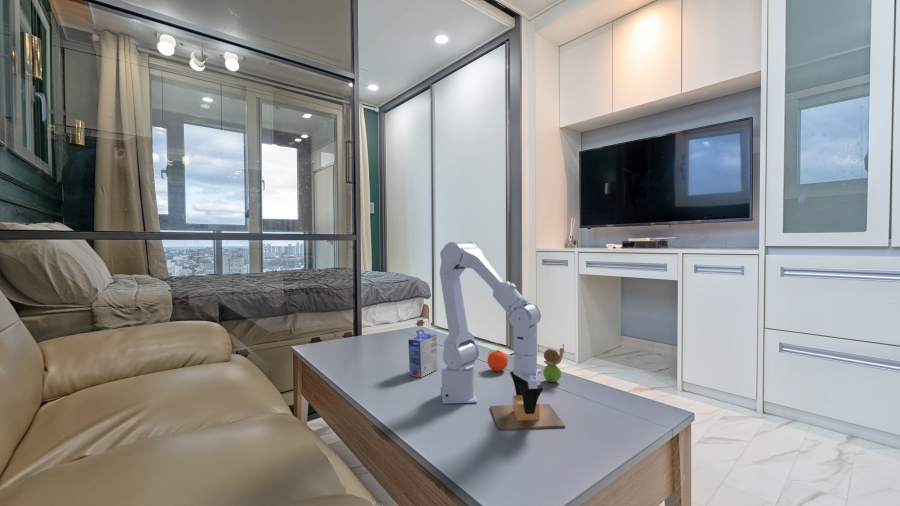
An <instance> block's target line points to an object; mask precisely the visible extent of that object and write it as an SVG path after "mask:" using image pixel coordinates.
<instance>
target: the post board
mask: <svg viewBox="0 0 900 506" xmlns="http://www.w3.org/2000/svg"><path fill="white" fill-rule="evenodd" d="M539 404H540V420H519V421H518V420H517V418H516V416H515V414H514V412H513V404H512V405H511V404H510V405H509V404H507V405H506V404H505V405H502V404H501V405H490V406H489V407H490V408H489V409H490V410H491V414H492V416H493V420H494V422H495V424H496V427H497V430H498V431H509V430H533V429H534V430H536V429H562V428H566V423H564V422H563V421H562V419H561V418H560V417H559V415H558V414H557V412H556V411H555V410H554V408H553V407H552V406H551V404H550V403H539Z"/></svg>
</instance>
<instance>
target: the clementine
mask: <svg viewBox="0 0 900 506" xmlns="http://www.w3.org/2000/svg"><path fill="white" fill-rule="evenodd" d="M487 355H488V357H487V365H488V368H490V369H491V370H492V371H495V372H502V371H504V370H505V369H506V368H507V367H508V366H507V365H508V362H509V361H508V357H507V355H506V353H504V351H502V350H498V349H493V350H491V351H490V352H488V353H487Z"/></svg>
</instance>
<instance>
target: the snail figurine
mask: <svg viewBox="0 0 900 506" xmlns="http://www.w3.org/2000/svg"><path fill="white" fill-rule="evenodd" d="M564 347H565V344H564V343H563V344H562V347H561V348H559V353H558V351H557V350H556V349H553V348H547V349H546V350H545V351H544V353H543V358H544V359H545V360H543V362H544V363H545V366H544V368H543V370H542V371H543V372H542V374H543V377H544V379H545V380H546V381H547V382H549V383H556V382H558V381H559V380H560V379H561V377H562V372H561V369H560V367H559V366H557V365H559V364H561V362H562V360H563V356H564V353H565V348H564Z"/></svg>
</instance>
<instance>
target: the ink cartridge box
mask: <svg viewBox="0 0 900 506" xmlns="http://www.w3.org/2000/svg"><path fill="white" fill-rule="evenodd" d="M415 332H416V335H417V336H415V337H412V338H410V339H408V342H407V343H408V359H409V360H408V362H409V363H408V365H409V375H410V376H411V375H412V376H413V377H415V376H416V378H419V377H422V378H424V377H426V376H428V375H429V373H430V374H432V373H434V372H435V370H436V371H438V368H439V365H438V339H437V338H438V337H437V334H433V333H432V334H431V333H425V331H424V329H423V328H420V329H418V330H417V329H416V330H415ZM420 332H422V333H420ZM433 371H434V372H433ZM431 372H432V373H431ZM427 374H428V375H427ZM425 375H426V376H425ZM423 376H424V377H423Z"/></svg>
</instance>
